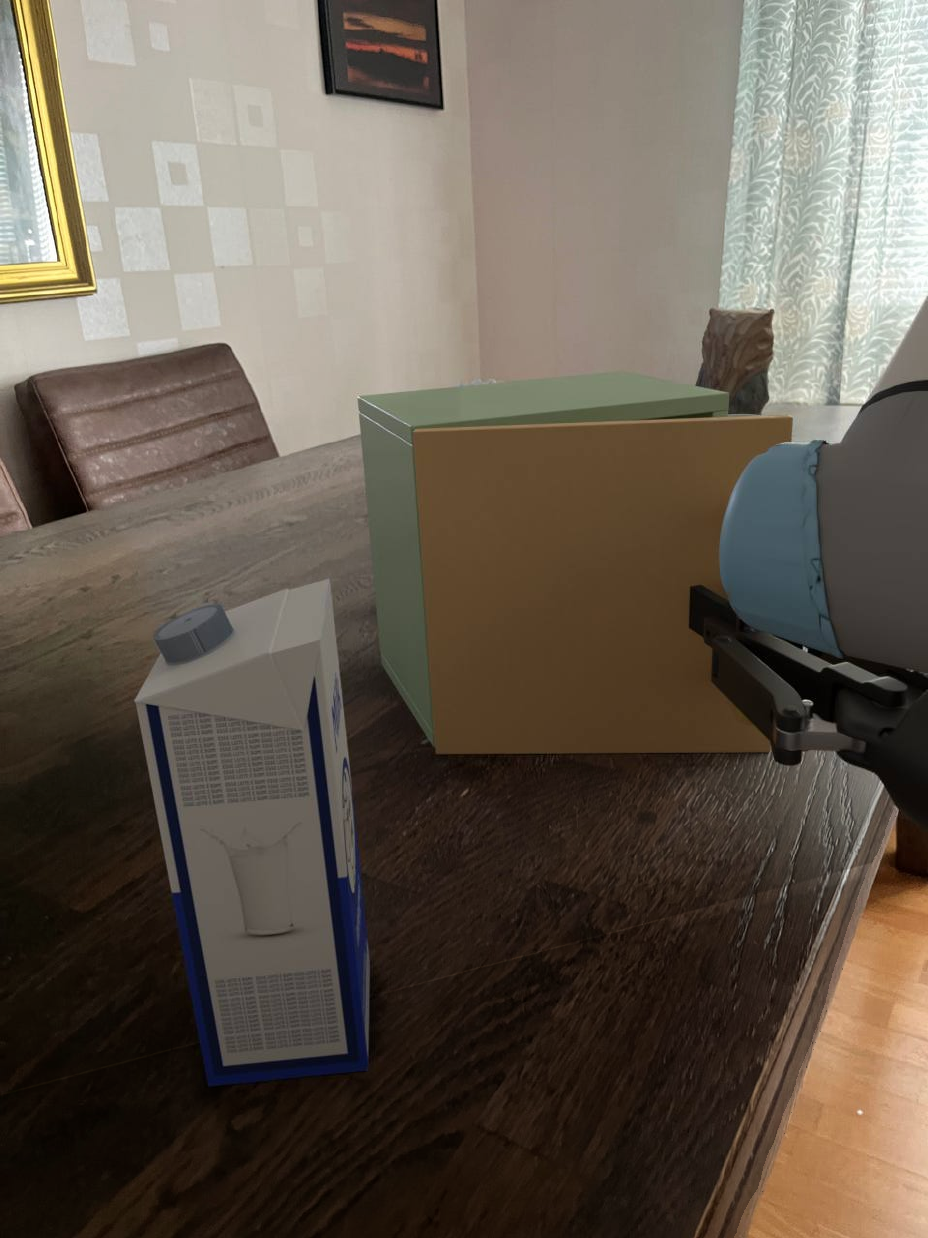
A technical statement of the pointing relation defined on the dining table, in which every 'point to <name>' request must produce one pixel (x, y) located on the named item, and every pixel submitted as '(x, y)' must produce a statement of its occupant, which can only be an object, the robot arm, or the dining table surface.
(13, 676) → the dining table surface
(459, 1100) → the dining table surface
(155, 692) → the milk carton
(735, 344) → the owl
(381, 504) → the cupboard
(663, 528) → the cupboard door
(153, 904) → the dining table surface
